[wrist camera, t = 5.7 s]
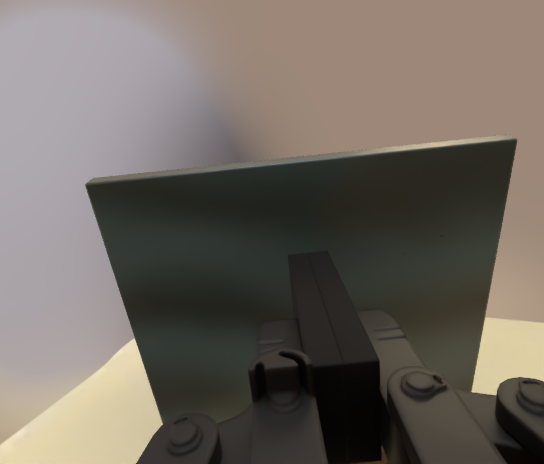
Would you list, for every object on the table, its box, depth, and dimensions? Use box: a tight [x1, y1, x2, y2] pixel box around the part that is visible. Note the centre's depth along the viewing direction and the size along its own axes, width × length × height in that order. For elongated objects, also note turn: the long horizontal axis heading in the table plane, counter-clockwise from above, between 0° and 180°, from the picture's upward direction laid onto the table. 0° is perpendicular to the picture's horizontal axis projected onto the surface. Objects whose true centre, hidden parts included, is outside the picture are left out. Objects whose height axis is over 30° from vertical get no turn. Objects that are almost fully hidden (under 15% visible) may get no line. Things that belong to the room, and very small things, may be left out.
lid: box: [85, 135, 517, 424], centre depth 18 cm, size 14×17×1 cm
